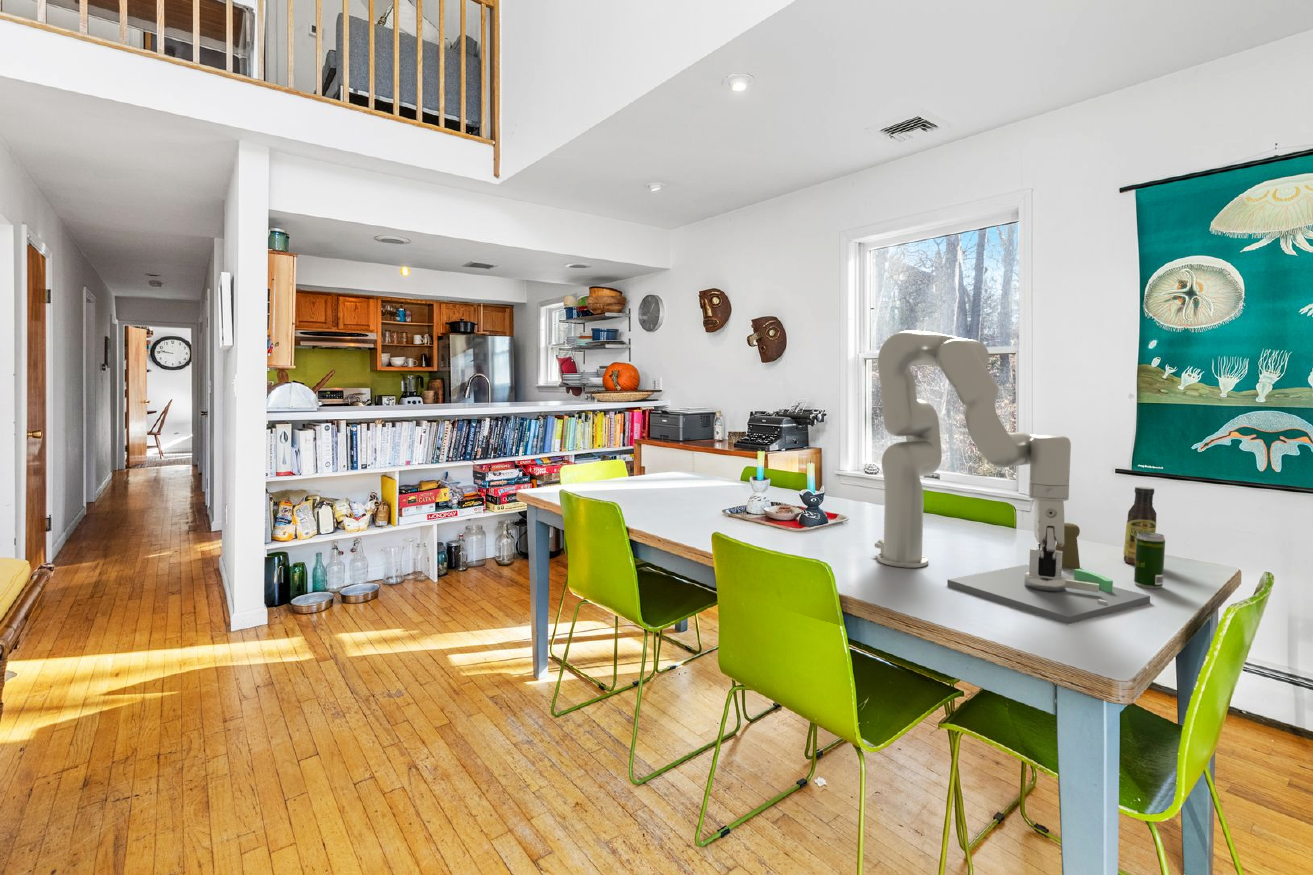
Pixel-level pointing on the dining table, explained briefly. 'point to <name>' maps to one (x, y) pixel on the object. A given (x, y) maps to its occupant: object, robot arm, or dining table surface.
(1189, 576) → the dining table surface
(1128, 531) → the sauce bottle
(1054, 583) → the knob
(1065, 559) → the cork
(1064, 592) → the dial board
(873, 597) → the dining table surface
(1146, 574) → the beer can
